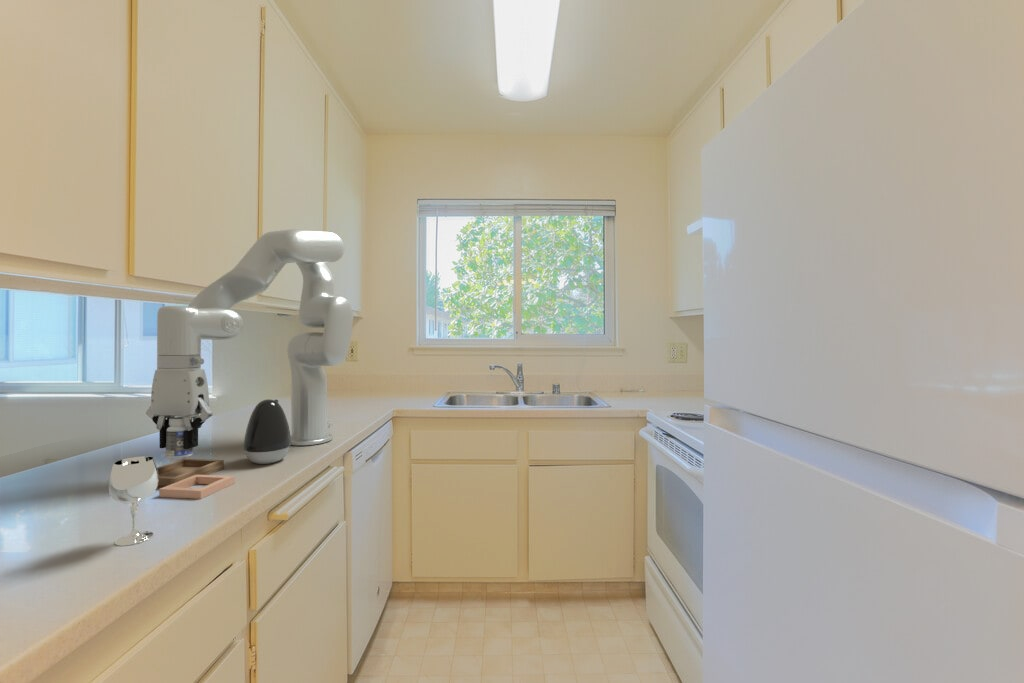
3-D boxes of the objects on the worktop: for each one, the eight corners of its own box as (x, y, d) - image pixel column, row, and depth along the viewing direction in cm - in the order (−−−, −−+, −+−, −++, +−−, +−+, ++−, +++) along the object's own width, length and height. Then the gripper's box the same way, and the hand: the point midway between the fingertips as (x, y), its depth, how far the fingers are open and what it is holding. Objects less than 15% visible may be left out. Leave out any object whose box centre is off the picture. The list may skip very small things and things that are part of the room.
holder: (195, 481, 91) (195, 474, 91) (234, 483, 91) (234, 476, 91) (159, 496, 83) (159, 489, 83) (200, 498, 82) (200, 490, 82)
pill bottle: (178, 459, 91) (179, 419, 91) (159, 458, 92) (160, 418, 92) (198, 454, 96) (199, 416, 96) (181, 453, 97) (182, 415, 97)
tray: (183, 467, 101) (183, 458, 101) (223, 468, 100) (223, 460, 100) (129, 486, 88) (129, 476, 88) (175, 488, 87) (175, 478, 87)
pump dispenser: (297, 454, 112) (297, 396, 112) (281, 466, 102) (281, 402, 102) (255, 455, 111) (255, 396, 111) (235, 468, 101) (235, 402, 100)
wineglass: (135, 529, 69) (135, 454, 69) (168, 531, 69) (168, 456, 69) (97, 546, 64) (97, 465, 63) (133, 549, 63) (132, 467, 63)
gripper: (229, 363, 97) (228, 444, 97) (158, 361, 98) (158, 441, 98) (202, 365, 89) (201, 453, 89) (126, 363, 91) (126, 450, 91)
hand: (179, 446), depth 94 cm, fingers closed on pill bottle, 4 cm apart
